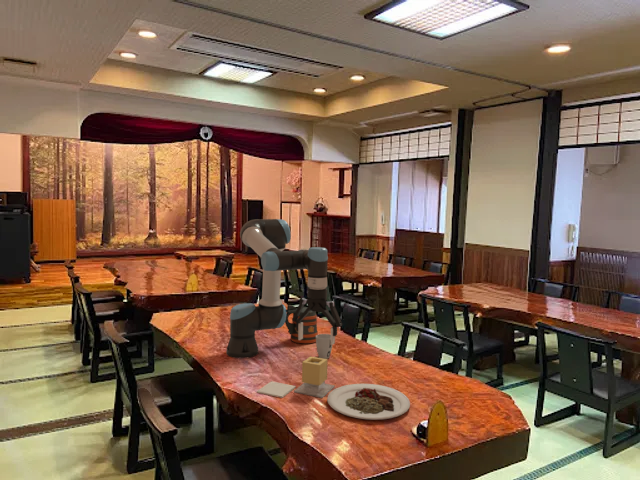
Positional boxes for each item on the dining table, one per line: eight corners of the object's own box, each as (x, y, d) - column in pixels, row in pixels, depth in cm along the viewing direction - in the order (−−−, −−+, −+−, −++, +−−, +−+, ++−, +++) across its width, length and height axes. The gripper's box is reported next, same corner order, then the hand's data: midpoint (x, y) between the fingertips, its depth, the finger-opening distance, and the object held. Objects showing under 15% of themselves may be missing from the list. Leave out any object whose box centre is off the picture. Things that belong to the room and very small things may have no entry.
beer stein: (294, 347, 236) (294, 308, 234) (278, 340, 248) (278, 303, 246) (323, 341, 248) (324, 303, 246) (307, 334, 259) (307, 298, 258)
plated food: (350, 430, 153) (350, 420, 152) (314, 394, 180) (314, 386, 180) (426, 415, 165) (427, 405, 164) (382, 384, 192) (382, 375, 192)
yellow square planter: (302, 382, 182) (302, 362, 182) (310, 375, 189) (310, 356, 188) (319, 385, 179) (319, 365, 179) (327, 379, 186) (327, 359, 185)
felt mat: (257, 392, 180) (257, 391, 180) (271, 382, 190) (271, 381, 190) (282, 397, 176) (282, 396, 176) (295, 387, 186) (295, 386, 186)
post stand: (293, 392, 181) (294, 365, 180) (307, 381, 192) (307, 356, 191) (322, 398, 176) (322, 370, 176) (334, 386, 187) (335, 360, 187)
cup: (330, 360, 218) (331, 339, 217) (313, 359, 220) (314, 338, 219) (333, 355, 226) (334, 334, 225) (317, 353, 228) (317, 333, 227)
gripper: (284, 286, 183) (283, 339, 185) (344, 292, 173) (343, 348, 175) (292, 283, 190) (292, 335, 192) (351, 288, 180) (349, 343, 182)
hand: (316, 341), depth 183 cm, fingers open, 13 cm apart
